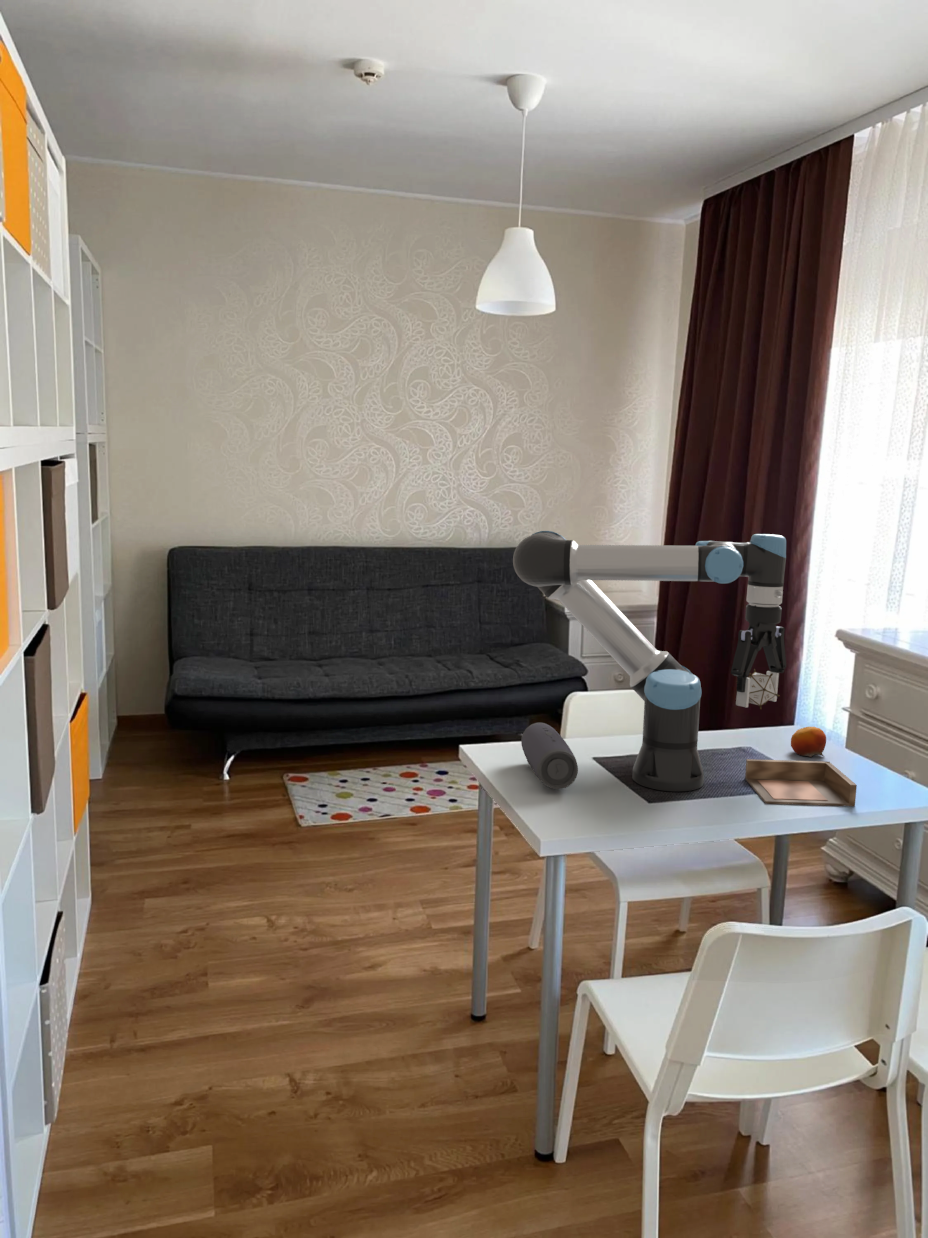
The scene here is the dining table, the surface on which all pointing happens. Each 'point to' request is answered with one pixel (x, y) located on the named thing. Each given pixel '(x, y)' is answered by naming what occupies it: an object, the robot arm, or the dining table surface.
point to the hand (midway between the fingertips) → (756, 703)
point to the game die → (761, 688)
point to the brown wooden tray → (800, 782)
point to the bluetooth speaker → (549, 756)
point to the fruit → (808, 741)
